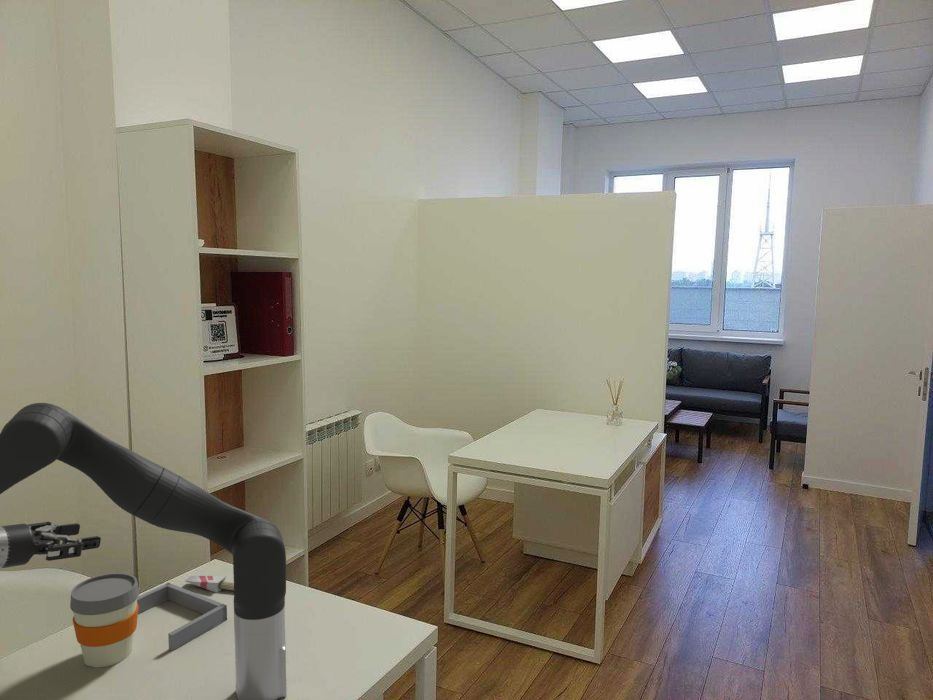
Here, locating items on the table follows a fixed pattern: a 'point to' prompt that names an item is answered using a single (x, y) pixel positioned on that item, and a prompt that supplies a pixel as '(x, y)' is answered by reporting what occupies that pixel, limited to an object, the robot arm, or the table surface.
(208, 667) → the table surface
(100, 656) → the reusable coffee cup
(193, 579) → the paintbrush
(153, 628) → the table surface
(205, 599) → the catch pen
